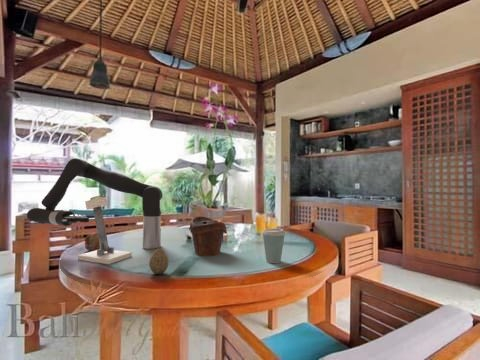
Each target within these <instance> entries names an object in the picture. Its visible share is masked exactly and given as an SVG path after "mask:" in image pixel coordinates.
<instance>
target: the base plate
mask: <svg viewBox="0 0 480 360" xmlns="http://www.w3.org/2000/svg"><path fill="white" fill-rule="evenodd" d="M114 248H115V247H113V246H109V251H106V252H104V250H101V249H100V248H97V249H95V250H91V251H89V252H85V253H80V254H77V260H79V261H86V262H91V263H98V264H103V265H110V264H113V263H116V262H119V261H122V260H126V259H127V258H132V251H125V250H116V249H114Z"/></svg>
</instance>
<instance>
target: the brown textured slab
mask: <svg viewBox="0 0 480 360" xmlns="http://www.w3.org/2000/svg"><path fill="white" fill-rule="evenodd" d="M84 247H85V249H86V251H95V250H98V249H100V245H99V239H98V233H97V231H95V232H92V233H89V234H88V235H86V237H85V240H84Z"/></svg>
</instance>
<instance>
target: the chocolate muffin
mask: <svg viewBox="0 0 480 360" xmlns="http://www.w3.org/2000/svg"><path fill="white" fill-rule="evenodd" d="M189 225H190V226H189V229H188V231H190V233H191V236H192V242H193V246H194V247H193V249H194V253H195V254H196V255H197V256H209V257H211V256H216V255H219V254H220V252H221V247H222V244H223V243H222V242H223V238H224V235H225V234H226V236H227V235H228V231H227V230H228V229H227V225H226V224H225V223H224V222H221V221H219V220H216V219H212V218H209V217H205V216H196V217H194V218H193V219H192V220H191V221H190V224H189Z"/></svg>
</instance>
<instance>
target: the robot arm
mask: <svg viewBox="0 0 480 360" xmlns="http://www.w3.org/2000/svg"><path fill="white" fill-rule="evenodd" d="M77 177H81V178H85V179H89V180H92V181H96V182H97V183H99V184H101V185H102V186H104V187H106V188H109V189H111V190H114V191H117V192H121V193H123V194H124V193H125V194H131V195H135V196H138V197H140V198H142V201H141V202H142V203H141V204H142V205H141V207H142V210H141V211H142V213H143V214H142V216H143V219H142V249H145V250H146V249H147V250H152V249H159V248H160V249H161V246H162V245H161V244H162V241H161V240H162V228H161V227H162V226H161V225H162V224H161V223H162V218H161V217H162V211H161V200H162V198H163V192H162V189H160V188H159V187H158V186H154V185H150V184H145V183H142V182H140V181H138V180H135V179H133V178H132V177H129V176H127V175H125V174H122V173H119V172H117V171H113V170H109V169H103V168H101V167H99V166H96V165H94V164H91V163H89V162H87V161H86V160H84V159H81V158H77V157H75V158H71V159H70V160H68V162H67V163H66V164H65V167H64V168H63V170H62V172H61V174H60V175H59V177H58V179H57V180H56V182H55V184H54V185H53V186H52V187H51V189H50V190H49V191H48V193H47V194H46V195H45V196H44V198H42V200H41V205H42V206H43V207H45V208H41V207H40V208H39V207H34V208H31V209H29V210H28V211H27V213H26V218H27V219H28V221H30V222H32V223H33V222H34V223H38V224H41V225H44V224H48V225H49V224H50V225H56V226H63V227H65V226H66V227H68V226H71V225H72V224H76V223H89V222H90V217H88V216H87V215H86V214H83V215H81V214H75V213H74V212H73V211H72V210H65V209H64V210H63V209H62V210H61V209H58V210H57V209H56V207H57V206H58V205H59V204H60V202H61V201H62V200H63V198H65V197H64V196H65V195H66V193H67V191H68V188H69V185H70V184H72V181H73V180H74V179H76V178H77Z"/></svg>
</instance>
